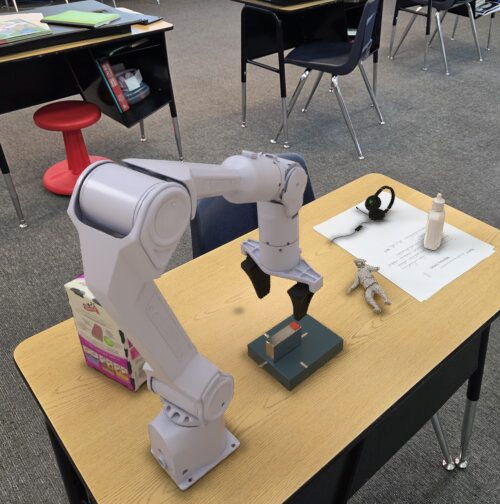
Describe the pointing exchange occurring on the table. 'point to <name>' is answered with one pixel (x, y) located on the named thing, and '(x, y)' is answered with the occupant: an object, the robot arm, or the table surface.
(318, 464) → the table surface
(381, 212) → the headset
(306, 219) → the table surface
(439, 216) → the eye dropper bottle
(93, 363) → the candy bar box
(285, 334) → the tap handle
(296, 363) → the tap console
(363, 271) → the soldier figure
